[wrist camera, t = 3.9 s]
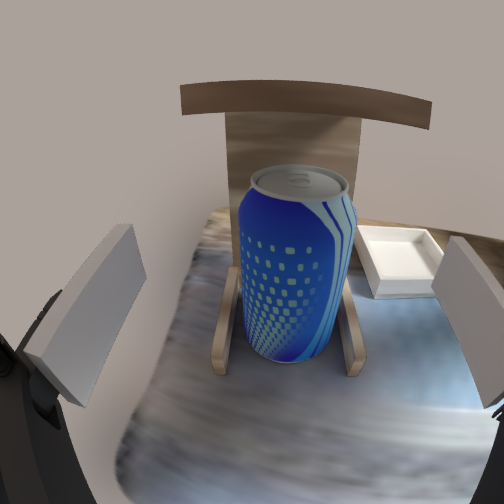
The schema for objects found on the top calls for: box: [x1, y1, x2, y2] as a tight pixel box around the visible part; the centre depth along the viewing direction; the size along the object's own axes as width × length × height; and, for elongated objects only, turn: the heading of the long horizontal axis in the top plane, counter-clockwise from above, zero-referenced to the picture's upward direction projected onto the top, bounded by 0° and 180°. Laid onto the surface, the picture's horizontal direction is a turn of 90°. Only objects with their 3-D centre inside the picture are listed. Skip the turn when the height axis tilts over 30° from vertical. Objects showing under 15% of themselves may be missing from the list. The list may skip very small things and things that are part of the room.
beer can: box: [238, 164, 357, 363], centre depth 23 cm, size 8×8×16 cm
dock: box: [180, 80, 432, 376], centre depth 23 cm, size 14×13×22 cm
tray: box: [354, 225, 444, 299], centre depth 35 cm, size 12×12×3 cm
